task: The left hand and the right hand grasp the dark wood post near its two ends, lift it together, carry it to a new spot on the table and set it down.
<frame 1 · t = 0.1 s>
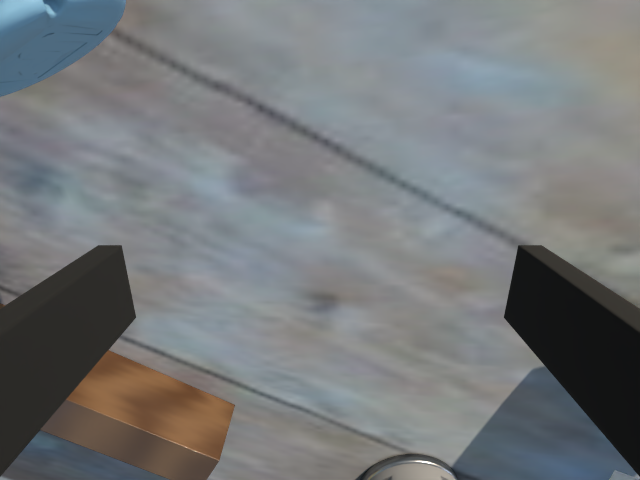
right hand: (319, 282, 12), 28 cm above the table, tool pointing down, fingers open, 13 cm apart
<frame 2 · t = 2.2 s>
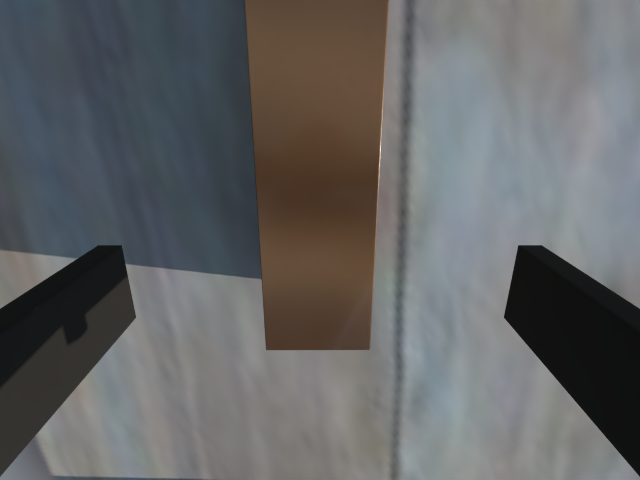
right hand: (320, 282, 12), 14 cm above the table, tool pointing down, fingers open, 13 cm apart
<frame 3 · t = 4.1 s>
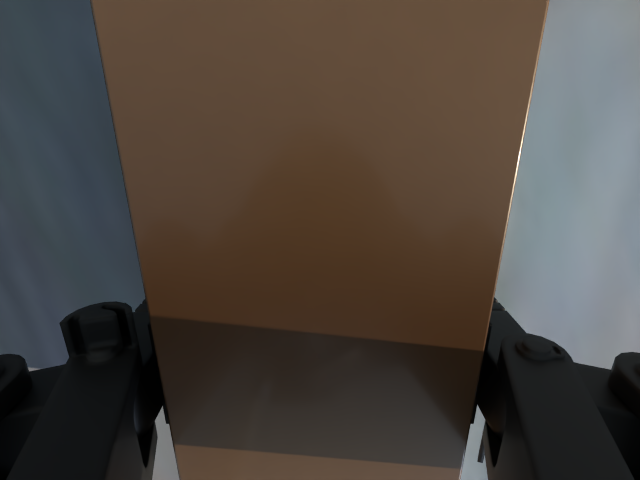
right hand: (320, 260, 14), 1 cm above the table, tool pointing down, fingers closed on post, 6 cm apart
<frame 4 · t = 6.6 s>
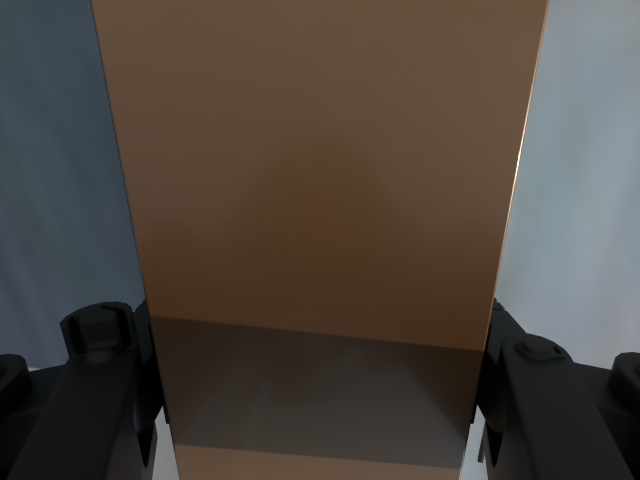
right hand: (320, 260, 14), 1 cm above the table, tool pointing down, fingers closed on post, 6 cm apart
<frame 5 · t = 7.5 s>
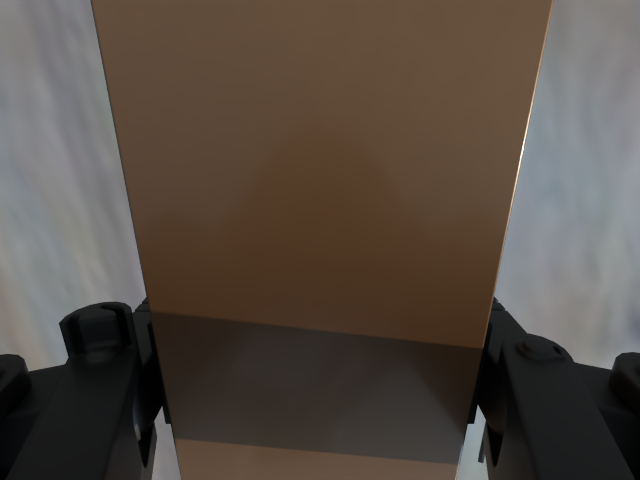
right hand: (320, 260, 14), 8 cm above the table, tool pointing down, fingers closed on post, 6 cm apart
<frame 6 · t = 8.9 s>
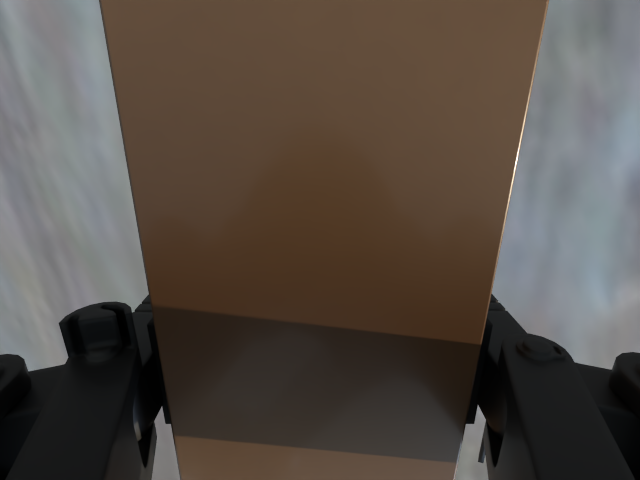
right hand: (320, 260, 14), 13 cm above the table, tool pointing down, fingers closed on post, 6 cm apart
when the left hand's fingers open (2 cm above the table, at t = 11.3 s): post drops 1 cm, on the table.
when the right hand's fingers open (2 cm above the table, at t = 11.3 s): post drops 1 cm, on the table.
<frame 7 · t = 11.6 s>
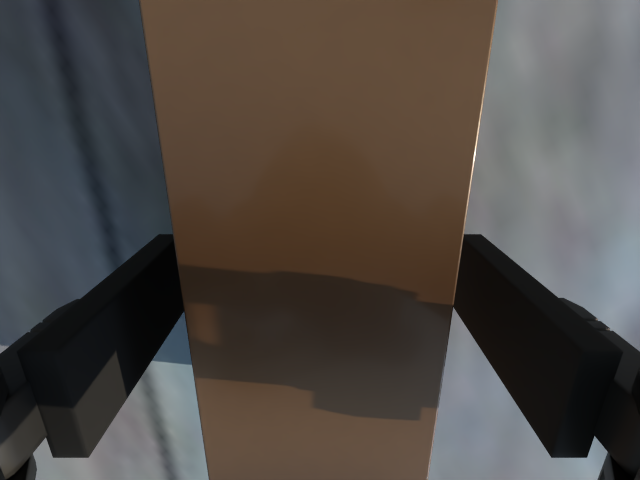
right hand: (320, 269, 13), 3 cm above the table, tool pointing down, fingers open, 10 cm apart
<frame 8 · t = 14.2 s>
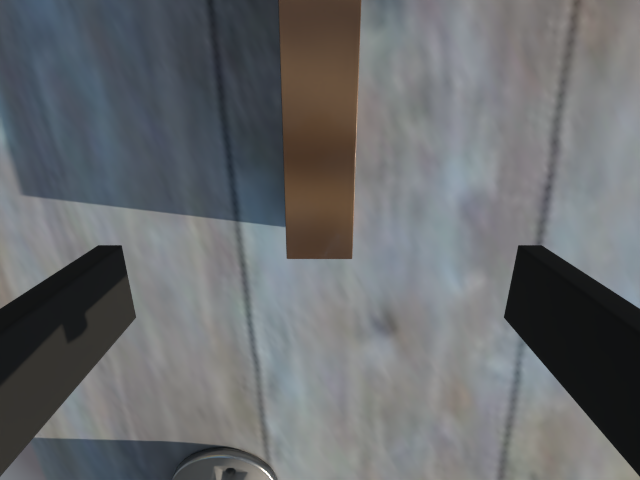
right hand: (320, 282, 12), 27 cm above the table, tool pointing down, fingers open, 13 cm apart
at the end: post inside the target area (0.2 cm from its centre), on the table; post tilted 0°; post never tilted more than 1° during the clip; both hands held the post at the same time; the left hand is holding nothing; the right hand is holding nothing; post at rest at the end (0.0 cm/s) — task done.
